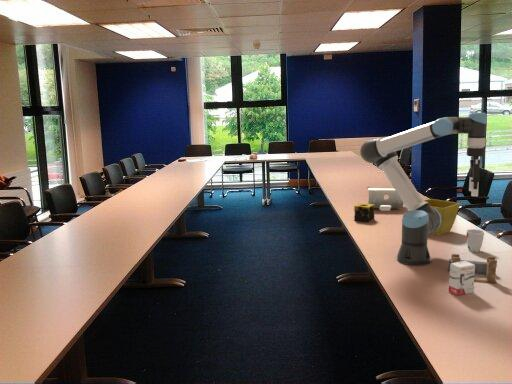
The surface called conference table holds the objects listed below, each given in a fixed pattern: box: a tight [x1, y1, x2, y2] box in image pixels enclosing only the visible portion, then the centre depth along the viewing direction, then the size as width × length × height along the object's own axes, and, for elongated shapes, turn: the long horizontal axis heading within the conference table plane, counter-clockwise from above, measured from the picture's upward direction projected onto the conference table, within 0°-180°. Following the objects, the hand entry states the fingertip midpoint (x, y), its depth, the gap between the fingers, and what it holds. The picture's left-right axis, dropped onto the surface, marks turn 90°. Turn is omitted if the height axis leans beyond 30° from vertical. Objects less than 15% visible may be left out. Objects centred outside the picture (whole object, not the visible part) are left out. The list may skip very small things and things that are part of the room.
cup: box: [466, 228, 485, 253], centre depth 253 cm, size 8×8×10 cm
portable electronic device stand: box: [365, 186, 404, 212], centre depth 356 cm, size 26×24×16 cm
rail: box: [447, 258, 487, 276], centre depth 222 cm, size 18×3×5 cm, turn 70°
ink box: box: [448, 260, 475, 297], centre depth 198 cm, size 9×5×12 cm, turn 114°
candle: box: [353, 202, 375, 223], centre depth 321 cm, size 10×10×10 cm
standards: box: [449, 253, 498, 284], centre depth 211 cm, size 18×5×10 cm, turn 73°
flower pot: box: [423, 198, 460, 236], centre depth 290 cm, size 19×19×17 cm
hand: (473, 193), depth 230 cm, fingers open, 13 cm apart
